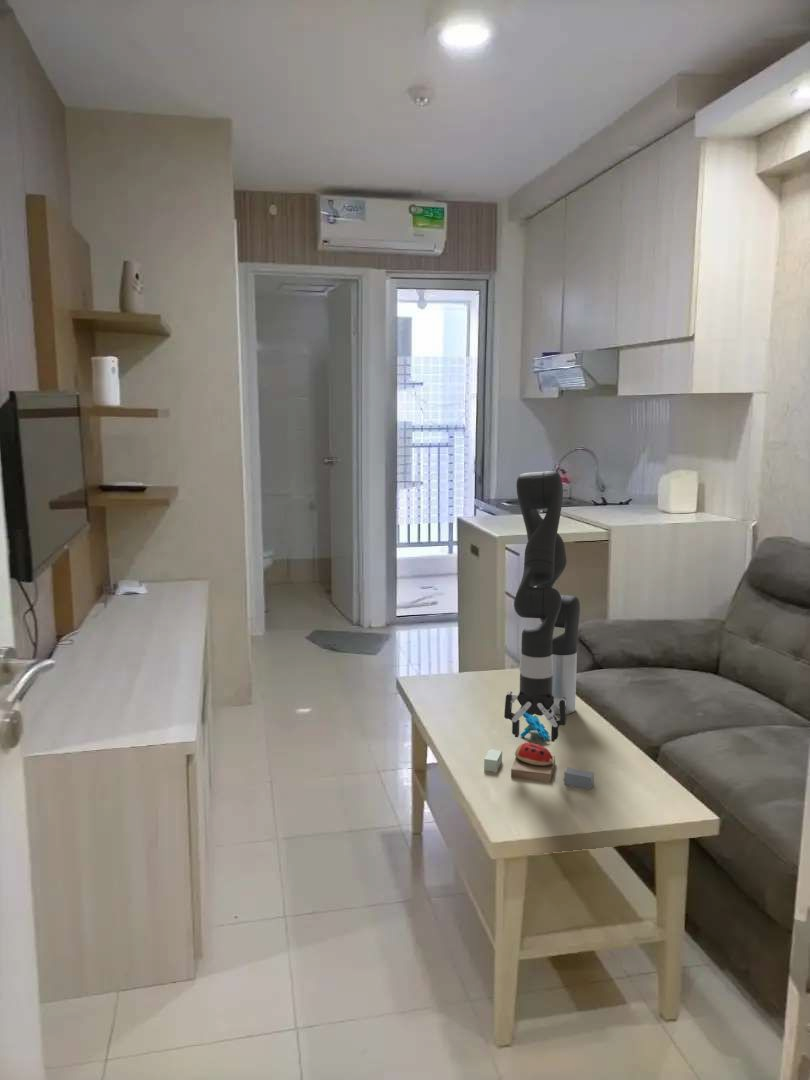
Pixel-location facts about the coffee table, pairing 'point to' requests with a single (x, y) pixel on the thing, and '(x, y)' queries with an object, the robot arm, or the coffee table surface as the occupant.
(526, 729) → the gear
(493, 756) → the sage brick
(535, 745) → the ladybug figurine
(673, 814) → the coffee table surface
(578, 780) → the slate brick
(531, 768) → the walnut block
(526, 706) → the robot arm
